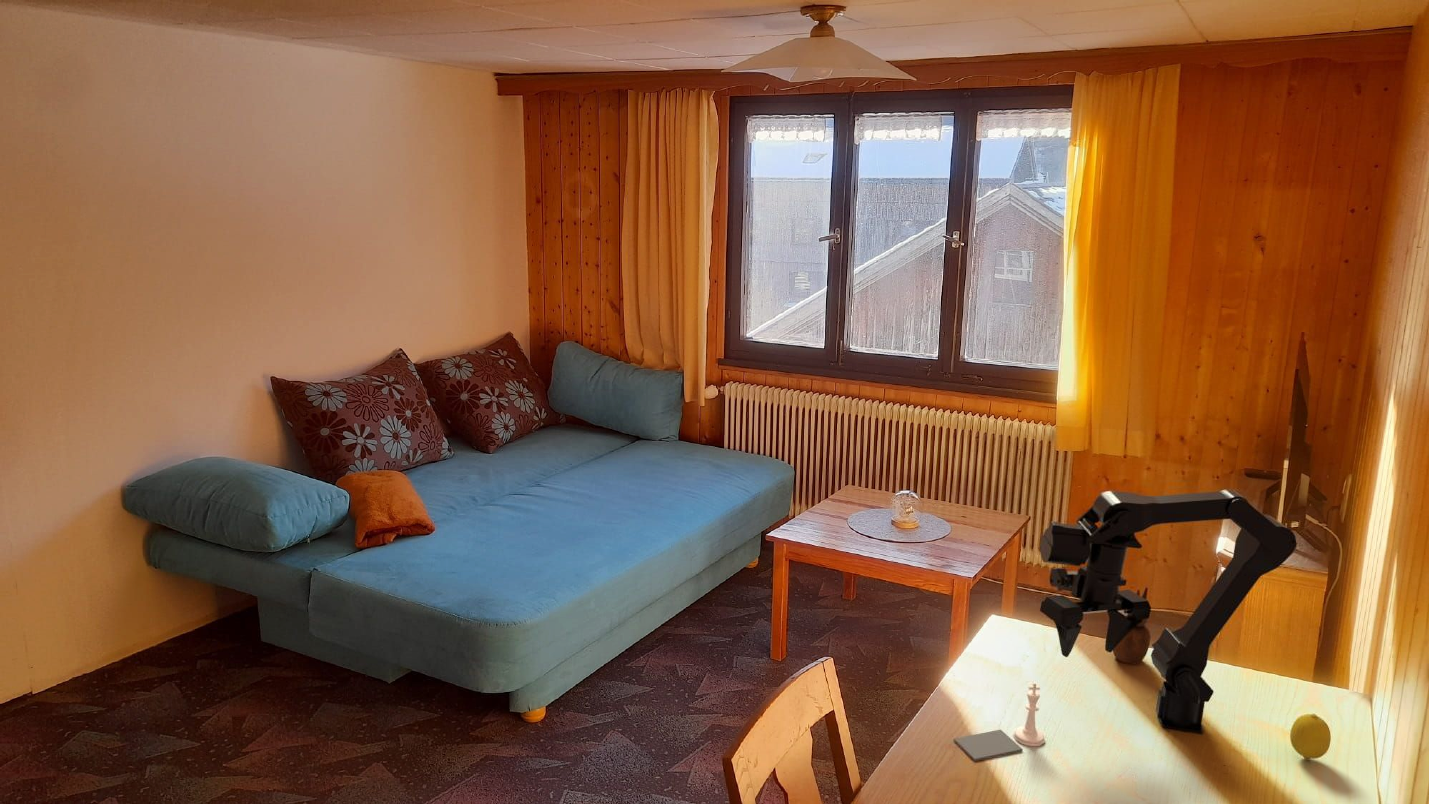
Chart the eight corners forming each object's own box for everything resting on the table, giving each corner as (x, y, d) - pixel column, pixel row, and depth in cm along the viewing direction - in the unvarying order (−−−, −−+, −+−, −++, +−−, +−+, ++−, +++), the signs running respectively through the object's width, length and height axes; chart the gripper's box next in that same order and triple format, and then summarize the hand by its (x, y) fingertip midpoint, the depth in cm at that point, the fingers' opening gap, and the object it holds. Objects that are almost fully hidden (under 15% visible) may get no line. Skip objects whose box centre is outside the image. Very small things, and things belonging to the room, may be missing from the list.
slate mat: (1000, 731, 168) (1000, 729, 168) (1022, 751, 163) (1022, 749, 163) (953, 740, 165) (953, 738, 165) (974, 761, 160) (974, 758, 160)
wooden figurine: (1145, 656, 195) (1155, 584, 192) (1147, 669, 190) (1157, 596, 186) (1108, 650, 197) (1117, 578, 194) (1109, 663, 192) (1118, 590, 189)
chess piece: (1048, 746, 164) (1054, 691, 162) (1018, 745, 164) (1023, 690, 162) (1039, 730, 169) (1045, 676, 167) (1010, 729, 169) (1015, 675, 167)
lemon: (1325, 773, 158) (1334, 727, 157) (1285, 761, 161) (1293, 717, 159) (1326, 756, 163) (1334, 712, 161) (1287, 745, 166) (1295, 701, 164)
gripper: (1113, 546, 177) (1096, 627, 181) (1027, 551, 170) (1011, 635, 174) (1161, 572, 167) (1142, 657, 171) (1071, 579, 160) (1054, 667, 164)
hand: (1086, 653), depth 170 cm, fingers open, 9 cm apart
